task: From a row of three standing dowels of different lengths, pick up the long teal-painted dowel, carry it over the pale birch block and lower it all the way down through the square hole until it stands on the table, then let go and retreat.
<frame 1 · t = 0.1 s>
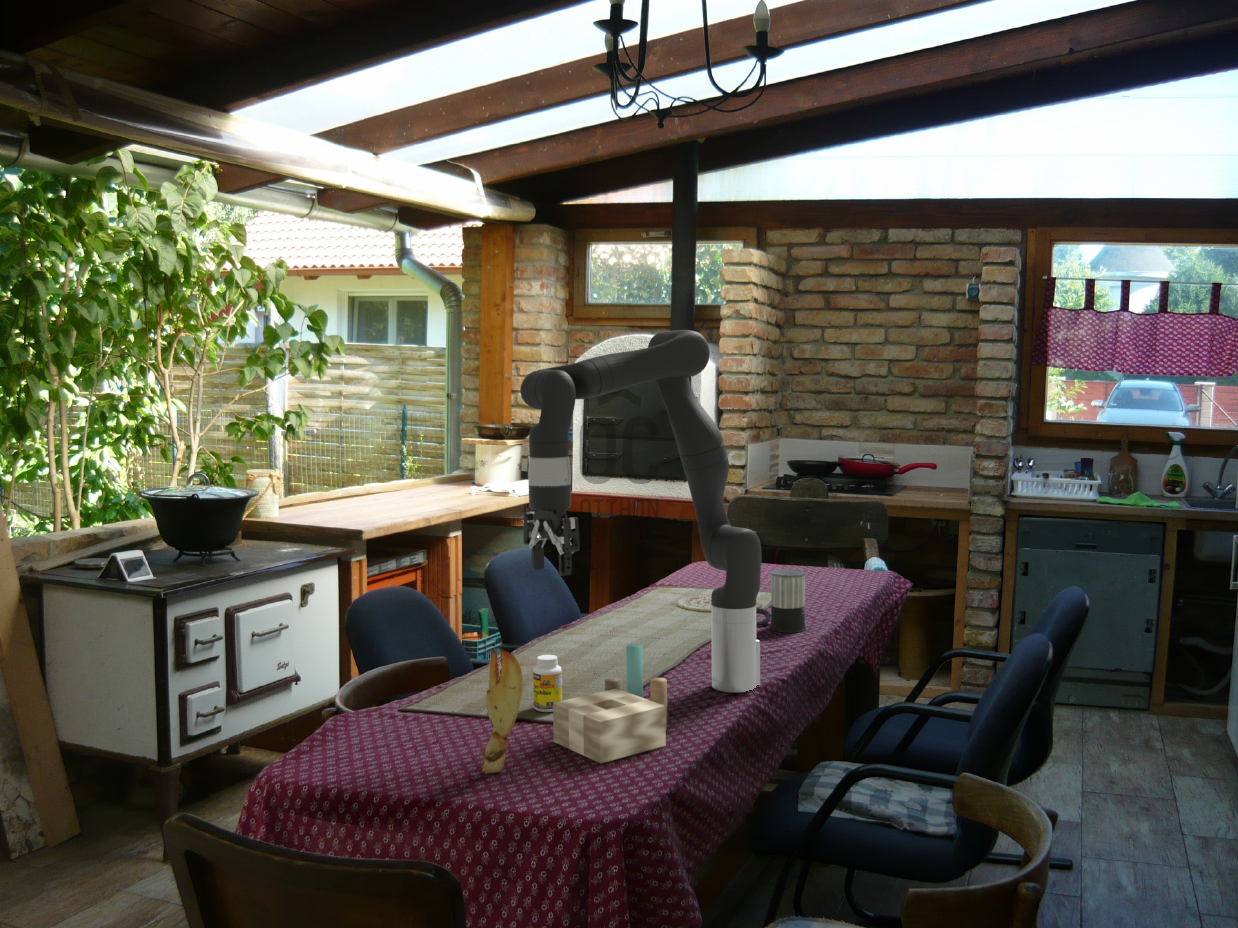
hand: (551, 572, 193), 29 cm above the table, tool pointing down, fingers open, 8 cm apart
crab claw: (500, 773, 174), on the table
milk frother: (773, 627, 277), on the table
medium pin: (659, 728, 196), on the table
long pin: (635, 719, 201), on the table
hole block: (609, 743, 188), on the table
supplement bottle: (548, 709, 209), on the table
short pin: (613, 710, 207), on the table
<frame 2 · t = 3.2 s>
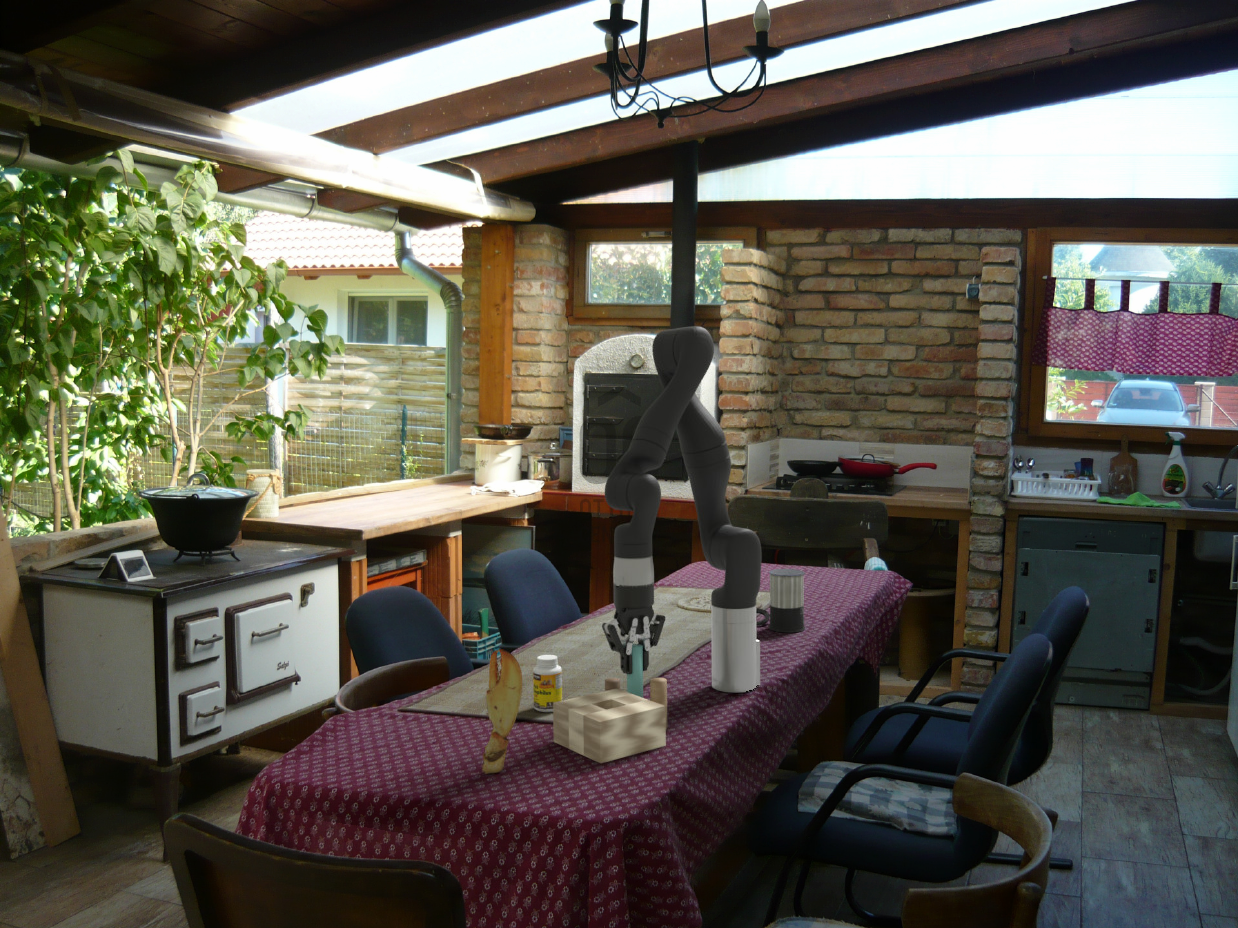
hand: (634, 671, 200), 9 cm above the table, tool pointing down, fingers closed on long pin, 3 cm apart
long pin: (635, 719, 201), on the table, touching gripper
everything else where it was.
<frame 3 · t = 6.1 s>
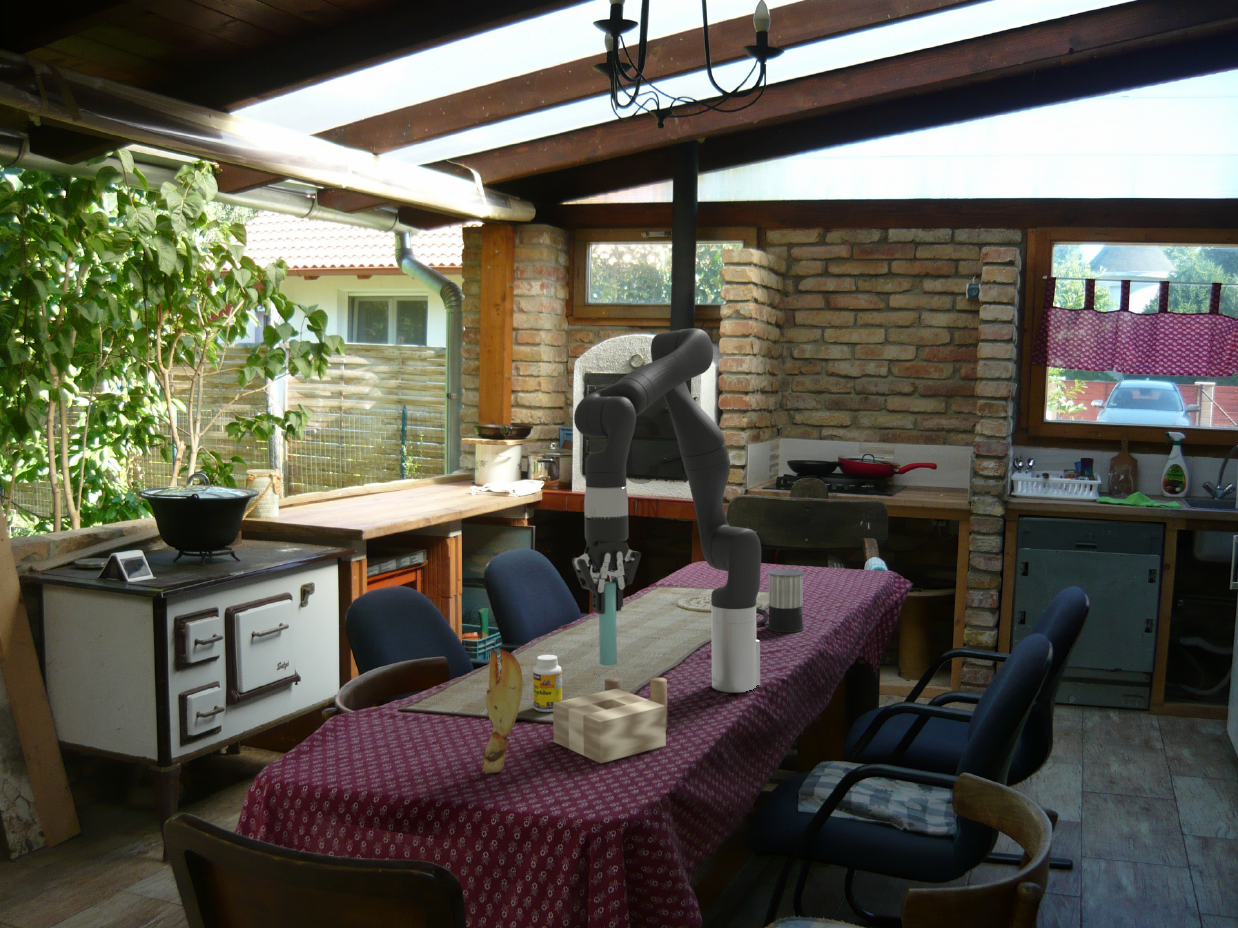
hand: (607, 611, 186), 23 cm above the table, tool pointing down, fingers closed on long pin, 3 cm apart
long pin: (608, 662, 187), point 14 cm above the table, touching gripper
everything else where it was.
when the fingers open (10 cm above the table, at t = 8.8 s): long pin stays where it is, resting in hole block.
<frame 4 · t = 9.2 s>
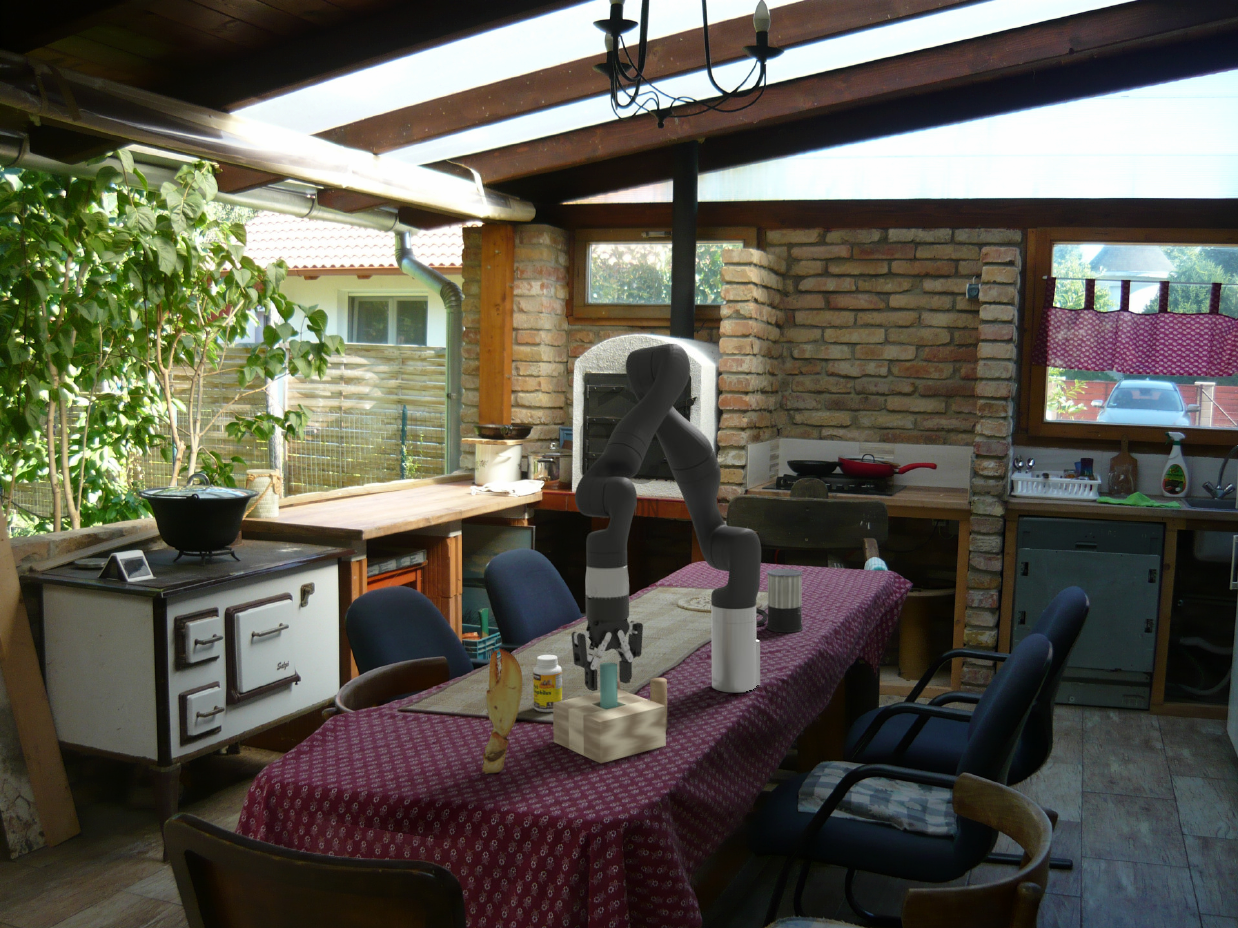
hand: (608, 685, 187), 10 cm above the table, tool pointing down, fingers open, 6 cm apart
long pin: (609, 743, 188), resting in hole block
everything else where it was.
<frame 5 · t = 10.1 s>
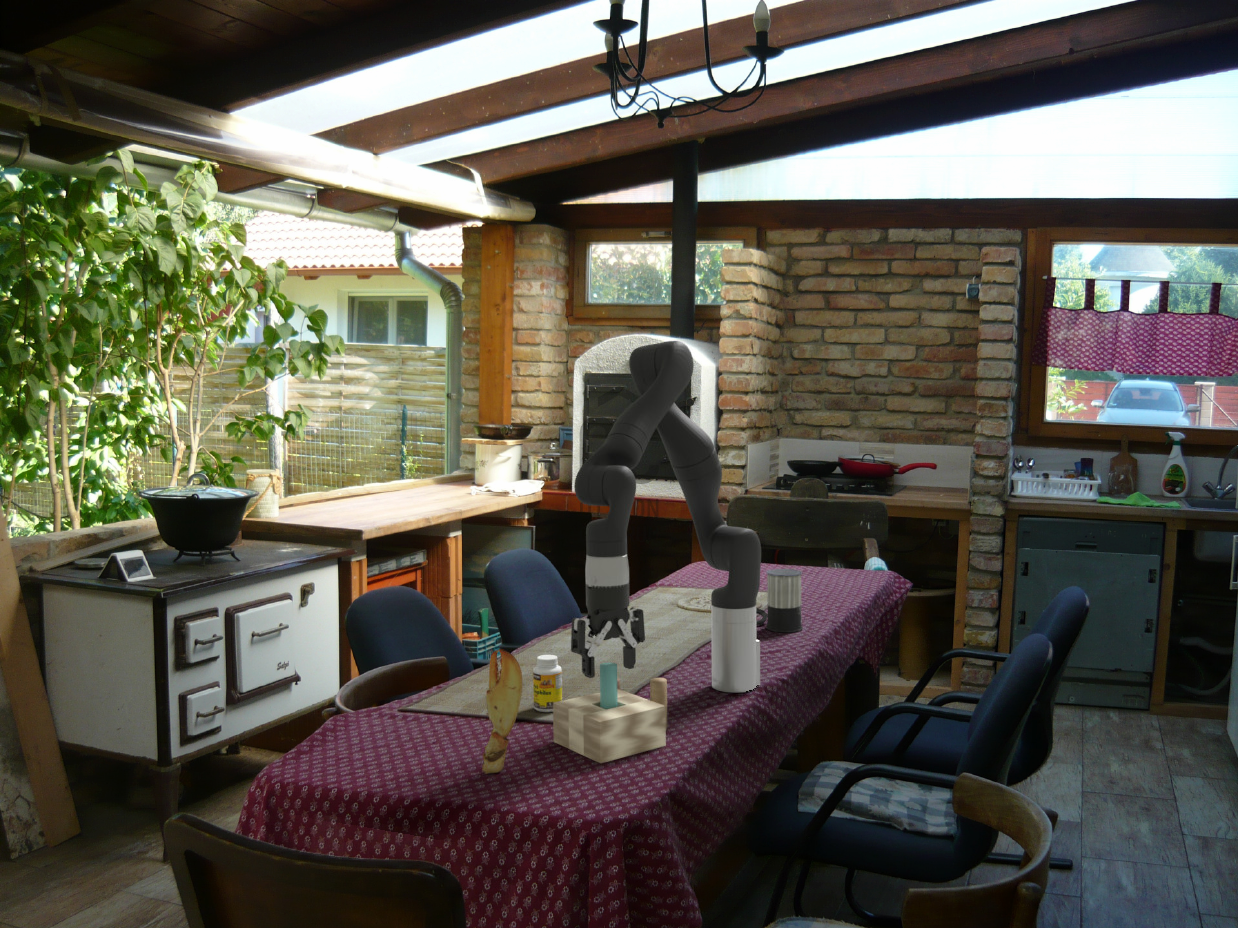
hand: (609, 672, 187), 13 cm above the table, tool pointing down, fingers open, 8 cm apart
nothing on the table moved.
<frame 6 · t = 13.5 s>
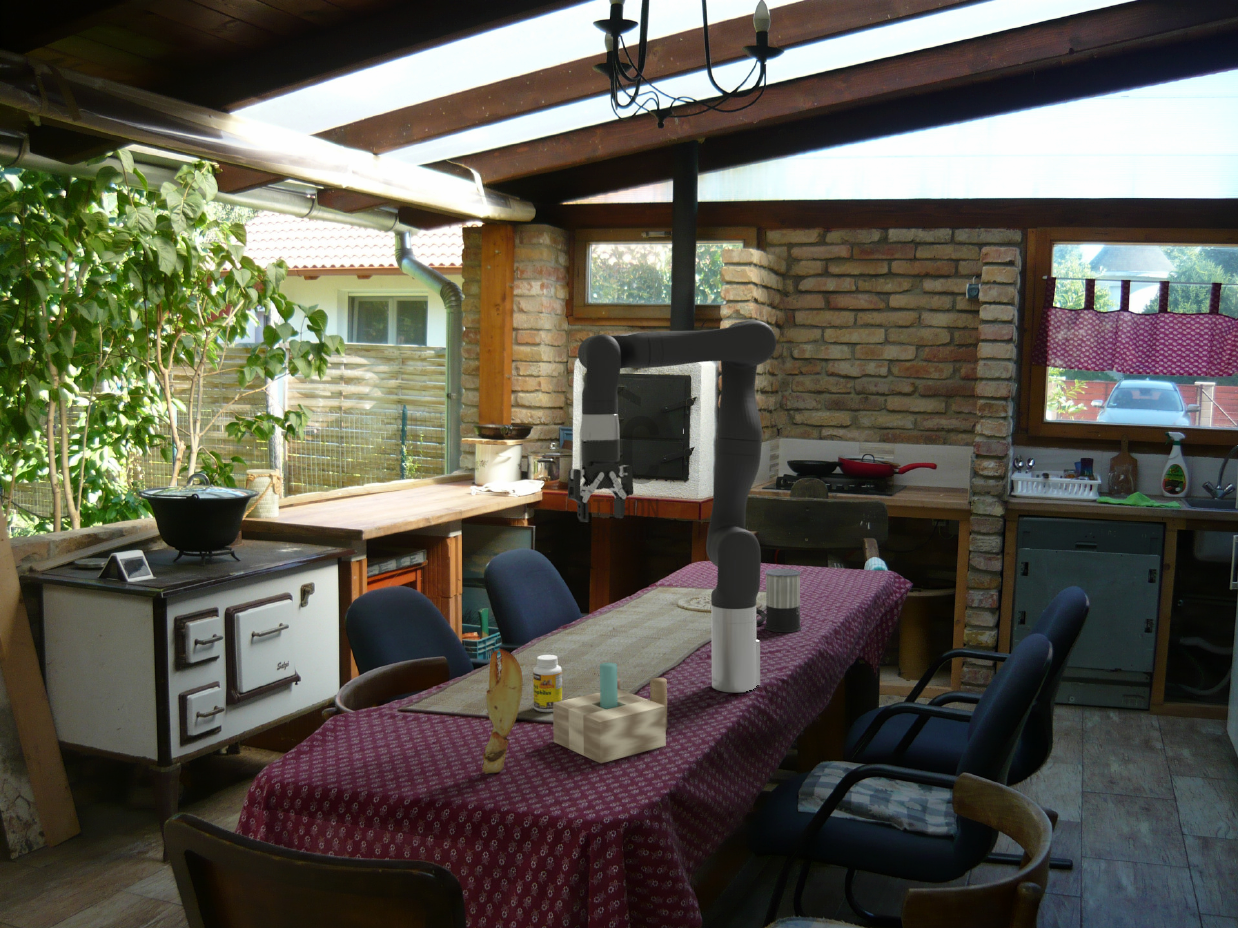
hand: (601, 519, 212), 36 cm above the table, tool pointing down, fingers open, 8 cm apart
at the end: long pin 0.1 cm off-centre on the hole block, point 0.0 cm above the hole block's base; long pin tilted 0°; the gripper is holding nothing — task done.
